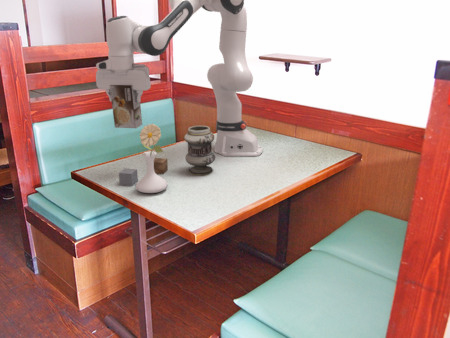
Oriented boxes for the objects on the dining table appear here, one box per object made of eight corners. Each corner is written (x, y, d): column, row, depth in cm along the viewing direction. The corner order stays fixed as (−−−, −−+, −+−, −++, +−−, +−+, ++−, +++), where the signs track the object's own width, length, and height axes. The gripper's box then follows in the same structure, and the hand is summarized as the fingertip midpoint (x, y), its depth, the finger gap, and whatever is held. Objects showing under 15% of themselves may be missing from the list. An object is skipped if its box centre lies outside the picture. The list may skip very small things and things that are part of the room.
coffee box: (143, 124, 161) (139, 82, 156) (136, 128, 155) (132, 85, 150) (121, 123, 163) (117, 82, 158) (113, 127, 157) (108, 85, 152)
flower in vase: (129, 189, 151) (123, 122, 142) (155, 181, 158) (151, 116, 149) (150, 200, 142) (145, 129, 133) (177, 191, 149) (173, 122, 141)
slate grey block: (137, 181, 158) (136, 169, 157) (132, 186, 154) (131, 173, 152) (125, 180, 159) (124, 168, 158) (120, 185, 155) (118, 172, 153)
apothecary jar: (193, 164, 176) (191, 122, 170) (219, 167, 172) (219, 125, 166) (180, 174, 165) (178, 130, 159) (208, 177, 161) (207, 132, 155)
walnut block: (167, 170, 170) (167, 158, 168) (163, 174, 165) (162, 162, 164) (156, 169, 171) (155, 157, 169) (151, 173, 166) (150, 161, 164)
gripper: (151, 63, 151) (154, 101, 156) (100, 62, 156) (104, 99, 160) (145, 65, 146) (148, 104, 150) (91, 64, 150) (96, 102, 155)
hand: (125, 101), depth 155 cm, fingers closed on coffee box, 8 cm apart
